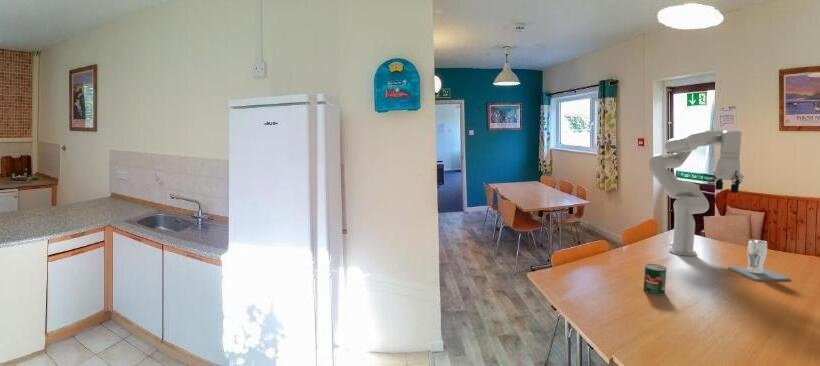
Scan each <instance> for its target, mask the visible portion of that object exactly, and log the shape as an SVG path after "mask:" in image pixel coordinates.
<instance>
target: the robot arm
mask: <svg viewBox="0 0 820 366" xmlns="http://www.w3.org/2000/svg"><path fill="white" fill-rule="evenodd" d="M741 145H742V132H741V131H740V130H722V129H721V130H720V129H718V130H717V129H716V130H715V129H714V130H712V129H711V130H701V131H697V132H692V133H690V134H687V135H683V136H678V137H673V138H670V139H668V140H666V142H665V144H664V149H665V150H666V152H669V153H658V154H655V155H652V157H651V158H650V159H649V162H648V167H649V170H650V172H651V174H652V176H653V177H654V178H655V179H656V180H657V181H658V183H659V184H660V185H661V187H662V189H663V190H664V191H665V193H666V194H667V196H668V197H669V198H671V199H675V200H674V202H673V205H672V206H673V213H674V221H673V222H674V223H673V225H674V227H673V238H672V242H670V244H669V245H670V246H671V247H670V248H669V250H668V251H669V253H671V252H672V254H674V255H677V256H686V257H693V256H696V255H697V252H696V250H694V242H695V234H696V233H695V232H696V221H695V217H694V216H693V215H695V214H704V213H706V212H707V211H709V208H710V202H709V201H708V199H707V197H706V196H705V195H704V194H703V192H702V191H701V189H700V188H699V187H698V186H697V185H696V183H694V182H692V181H683V180H682V181H680V180H679V179H678V178H677V177H676V175H675V174H674V173H673V172H672V171H670V170H668V169H676V168H680V167H681V166H683V164H684V163H685V162H686V161H687V159H688V158H689V156H690V155H691V154H692V153H693V152H692V151H695V150H697V149H698V148H699V147H706V146H707V147H708V146H720V148H719V149H720V151H719V153H720V154H719V158H718V160H717V162H716V169H715V171H713V176H714V177H713V178H714V182H715V187H714V188H715V190H717V191H718V190H723V188H724V187H723V186H724V182H723V181H724V180H725V181H730V182H731V185H730V193H731V194H733V193H737V194H738V193H739V187H740V185H741V183H742V181H743V179H744V177H745V176H744V175H743V174H742V173H741V161H740V154H741V147H742V146H741Z"/></svg>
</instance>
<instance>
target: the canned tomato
mask: <svg viewBox="0 0 820 366" xmlns="http://www.w3.org/2000/svg"><path fill="white" fill-rule="evenodd" d="M666 280H667V267H666V266H664V265H661V264H656V263H648V264H645V265H644V279H643V289H644V290H643V292H644V291H646V292H648V293H651V294H650V295H652V294H655V295H654V296H663V295H665V294H666V292H665V291H666ZM646 292H645V293H646ZM648 293H647V294H648Z"/></svg>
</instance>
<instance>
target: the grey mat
mask: <svg viewBox="0 0 820 366" xmlns="http://www.w3.org/2000/svg"><path fill="white" fill-rule="evenodd" d="M747 268H748V266H728V267H727V270H729V271H730V272H733V273H734V274H735V273H736V274H738V275H740V276H742V277H745V278H746V279H747V278H748V279H749V280H752V281H754V282H776V281H777V282H783V281H785V282H787V281H791V279H792V278H790V277H787V276H785V275H783V274H779V273H778V272H775V271H773V270H769V269H767V268H764V267H763V274H754V273H750V272H748V271H747Z"/></svg>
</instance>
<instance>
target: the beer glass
mask: <svg viewBox="0 0 820 366" xmlns="http://www.w3.org/2000/svg"><path fill="white" fill-rule="evenodd" d="M767 253H768V241H765V240H762V239H753V238H751V239H748V244H747V260H748V265H747V267H748V268H747V271H748V272H750V273H754V274H763V268H764V264H765V260H766V257H767Z"/></svg>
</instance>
